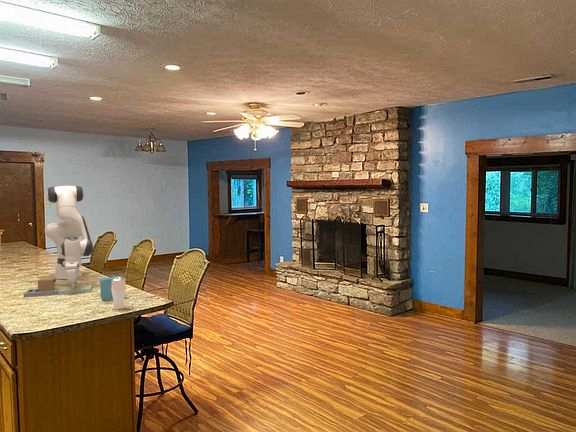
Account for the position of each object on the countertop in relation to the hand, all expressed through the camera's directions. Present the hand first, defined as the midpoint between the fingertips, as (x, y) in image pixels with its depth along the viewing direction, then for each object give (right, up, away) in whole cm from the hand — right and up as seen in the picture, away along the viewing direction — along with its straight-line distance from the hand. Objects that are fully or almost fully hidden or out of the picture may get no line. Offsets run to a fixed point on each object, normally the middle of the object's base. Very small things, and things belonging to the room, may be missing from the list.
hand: (74, 286), depth 270 cm
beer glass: (+42, -5, -39) cm, 58 cm away
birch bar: (-7, -1, -2) cm, 7 cm away
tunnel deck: (-8, -3, -2) cm, 9 cm away
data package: (+31, -4, -20) cm, 37 cm away
